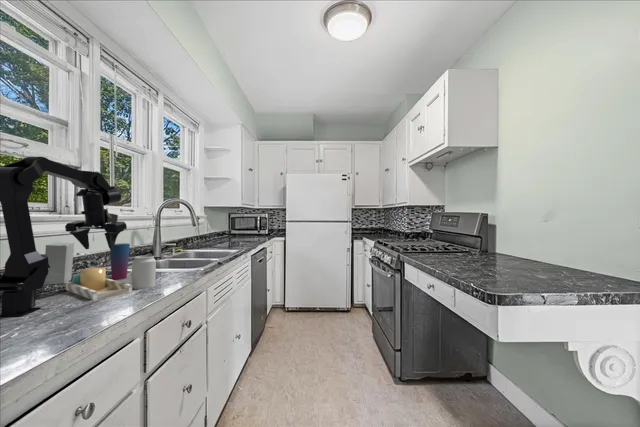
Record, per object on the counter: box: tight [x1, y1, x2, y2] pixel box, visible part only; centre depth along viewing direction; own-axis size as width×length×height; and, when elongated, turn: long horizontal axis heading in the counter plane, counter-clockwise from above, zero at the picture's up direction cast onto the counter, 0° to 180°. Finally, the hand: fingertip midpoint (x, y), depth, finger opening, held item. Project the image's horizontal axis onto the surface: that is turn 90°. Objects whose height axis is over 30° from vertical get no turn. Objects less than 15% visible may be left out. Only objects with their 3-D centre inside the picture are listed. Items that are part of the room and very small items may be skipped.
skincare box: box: [43, 241, 75, 287], centre depth 111 cm, size 8×7×16 cm
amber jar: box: [80, 267, 107, 291], centre depth 101 cm, size 7×7×7 cm
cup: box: [109, 242, 131, 281], centre depth 118 cm, size 7×7×15 cm
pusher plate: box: [72, 274, 80, 285], centre depth 103 cm, size 1×8×5 cm, turn 148°
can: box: [131, 255, 157, 290], centre depth 106 cm, size 8×8×12 cm
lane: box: [65, 277, 133, 301], centre depth 98 cm, size 22×11×3 cm, turn 58°
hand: (99, 249), depth 105 cm, fingers open, 9 cm apart
